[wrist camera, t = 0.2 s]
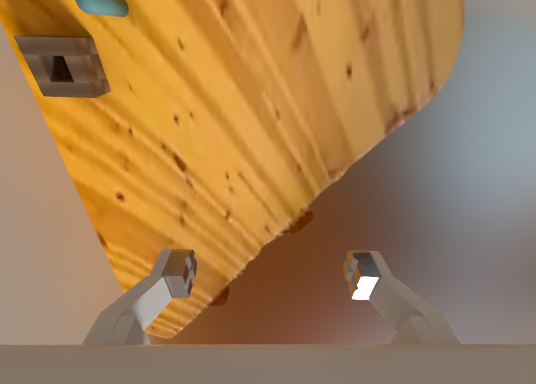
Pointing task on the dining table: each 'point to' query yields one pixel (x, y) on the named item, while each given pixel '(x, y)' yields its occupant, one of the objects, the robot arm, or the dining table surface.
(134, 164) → the dining table surface
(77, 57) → the walnut hole block
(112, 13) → the teal peg
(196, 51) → the dining table surface
